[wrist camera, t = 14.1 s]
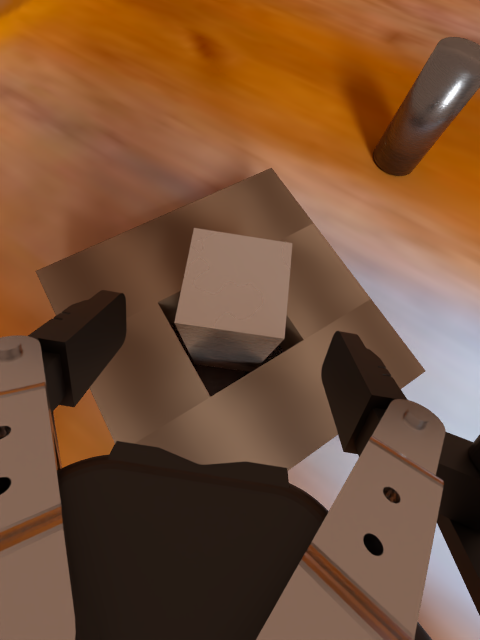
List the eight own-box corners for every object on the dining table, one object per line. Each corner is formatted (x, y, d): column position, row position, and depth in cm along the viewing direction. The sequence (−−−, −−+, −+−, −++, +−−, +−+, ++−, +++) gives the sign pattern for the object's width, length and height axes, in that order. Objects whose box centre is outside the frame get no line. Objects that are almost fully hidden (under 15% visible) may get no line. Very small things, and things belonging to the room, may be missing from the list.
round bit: (390, 136, 28) (457, 30, 20) (423, 162, 27) (505, 62, 19) (364, 155, 26) (425, 49, 19) (397, 182, 26) (474, 84, 18)
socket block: (261, 211, 24) (271, 167, 20) (382, 379, 20) (425, 371, 16) (73, 300, 20) (35, 271, 16) (180, 520, 17) (167, 557, 13)
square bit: (258, 318, 21) (292, 243, 12) (252, 372, 20) (284, 338, 10) (204, 310, 21) (194, 227, 12) (194, 364, 20) (174, 322, 10)
